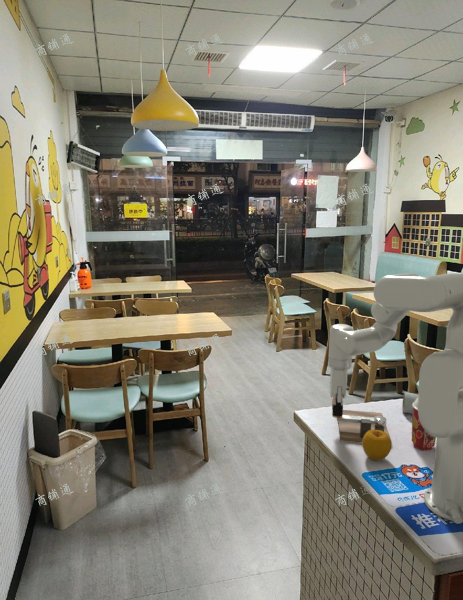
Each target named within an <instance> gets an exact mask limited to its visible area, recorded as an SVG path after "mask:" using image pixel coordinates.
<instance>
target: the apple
mask: <svg viewBox="0 0 463 600" xmlns="http://www.w3.org/2000/svg"><path fill="white" fill-rule="evenodd" d="M389 436H390V434H389V435H388V434H386V433H385V432H383V431H381V430H369V431H367V432H366V433H365V435H364V437H363V440H362V443H361V446H362V448H363V451H364V453H365V455H366V456H367V457H368V459H371V460H372V461H383V460H384V459H385V458H386V457H388V456H389V454H390V453H391V450H392V440H391V437H389Z"/></svg>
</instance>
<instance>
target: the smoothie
mask: <svg viewBox="0 0 463 600" xmlns="http://www.w3.org/2000/svg"><path fill="white" fill-rule="evenodd" d="M412 406H413V407H412V414H411V415H412V416H411V442H412V444H413V446H414V447H415V448H416V449H418V450H420V451H431V450H433V448H434V447H436V441H437V438H436V437H433V436H431V435H430V434H428V433H427V432H426V431H425V430H424V428H423V427H422V425H421V423H420V420H419V416H418V398H417V399H416V400H415V402H414V403H413V404H412Z"/></svg>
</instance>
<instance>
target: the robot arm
mask: <svg viewBox="0 0 463 600" xmlns="http://www.w3.org/2000/svg"><path fill="white" fill-rule="evenodd" d="M373 298H374V300H375V302H374V303H373V304H372V306H371V308H370V314H371V316H372V318H373V319H374V320H375V322H374V323H373V325H372V326H370V327H368V328H363V329H362V328H361V329H357V330H354V328H353V327H352V326H351V325H348V324H345V323H337V324H335V323H334V324H333V325H331V326H330V328H329V339H328V341H329V343H328V360H327V361H328V362H327V365H328V367H329V368H330V373H329V374H330V375H329V389H328V390H329V396H330V397H331V398H333V397H334V404H333V400H332V402H331V403H332V404H331V405H332V406H331V410H332V409H333V416H342V415H343V410H344V405H343V402H344V401H343V399H345V398H346V396H347V386H348V385H347V384H348V370H350V369H351V368H352V362H353V361H352V360H353V357H354V356H355V357H356V356H360V355H363V354H369V353H374V352H377V351H380V350H381V349H382V348H383V347H385V346H386V345H388V343H389V342H391V340H392V339H393V338H395V336H396V333H397V330H398V324H399V323H400V322H401V321H402V320H403V319H404V318H405V317H406V316H407V315H408V314H409V313H410V312H416V313H417V312H418V313H433V312H438V311H444V310H449V309H451V310H452V313H451V316H450V318H449V321H448V323H447V326H446V332H445V333H446V338H445V347H444V349H443V350H440V351H436V352H432V353H431V354H429V355H428V356H426V357H425V358H424V360H423V361H422V363H421V366H420V369H419V372H418V373H419V375H418V393H417V394H418V416H419V420H420V423H421V425H422V427H423V428H424V430H425V431H426V432H427V433H428V434H430V435H431V436H433V437H436V442H435V453H434V462H433V463H434V464H433V471H432V472H433V474H432V480H431V487H429V488H428V489H426V491H424V495H423V500H424V503H425V505H426V507H427V508H428V509H429V510H430V511H432V513H434V514H435V515H436V516H439V517H441V518H443V519H444V520H448V521H452V522H454V523H455V524H457V525H458V524H463V273H457V272H456V273H442V274H436V275H427V276H420V275H418V274H416V273H411V272H406V273H397V274H396V273H395V274H387V275H384V276H383V277H381V278H379V279H378V280H377V282H376V283H375V285H374V287H373ZM336 395H337V396H336ZM341 395H342V396H341ZM336 398H337V400H336ZM333 416H332V417H333Z"/></svg>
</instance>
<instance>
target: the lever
mask: <svg viewBox="0 0 463 600" xmlns="http://www.w3.org/2000/svg"><path fill="white" fill-rule="evenodd" d="M336 396H337V395H336ZM341 396H342V395H341ZM336 400H337V398H336ZM332 401H333V404H334V397H332ZM331 410H332V412H331V416H332V417H333V418H335V419H336V421H337V422H338V421H343V422H354V423H361V419H370V420H371V424H374V425H375V426H377V427H385V426H386V427H387V418H386V417H384V416H383V417H382V416H375V417H374V418H372V417H360V416H349V415H342V416H333V409H332V408H331Z"/></svg>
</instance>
